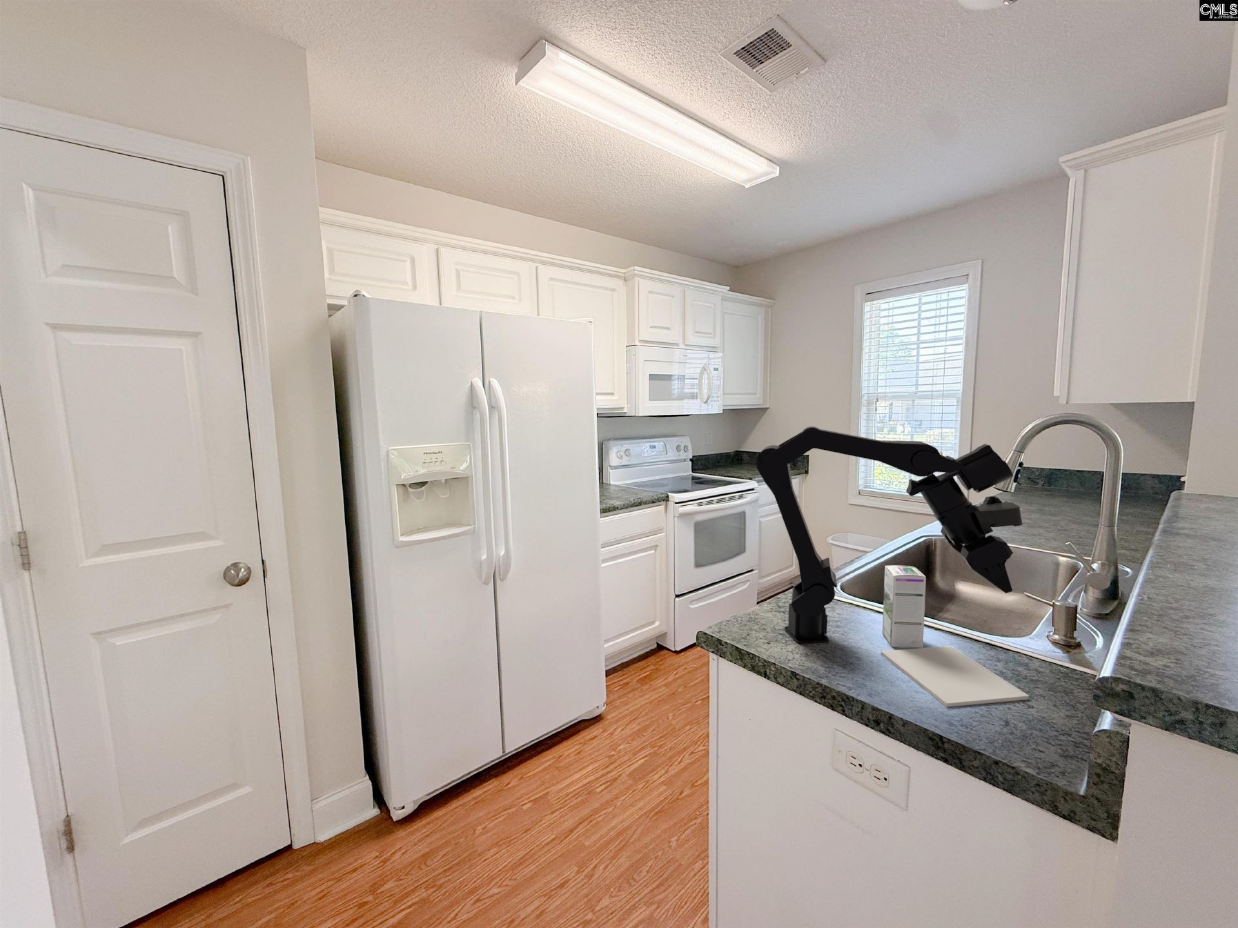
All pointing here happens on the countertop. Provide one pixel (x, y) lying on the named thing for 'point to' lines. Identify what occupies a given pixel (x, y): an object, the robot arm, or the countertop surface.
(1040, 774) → the countertop surface
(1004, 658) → the countertop surface
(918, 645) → the syrup box
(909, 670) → the rubber mat
